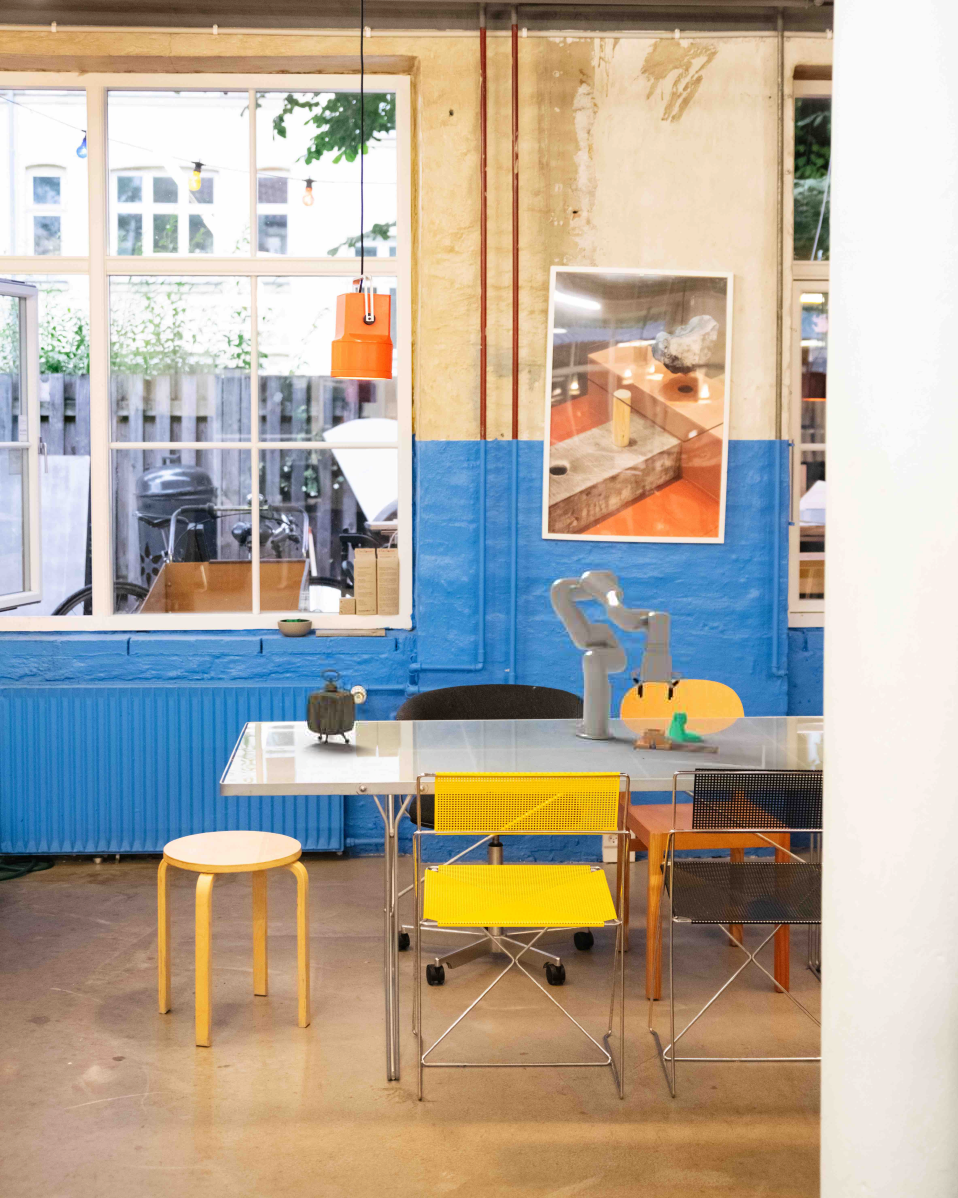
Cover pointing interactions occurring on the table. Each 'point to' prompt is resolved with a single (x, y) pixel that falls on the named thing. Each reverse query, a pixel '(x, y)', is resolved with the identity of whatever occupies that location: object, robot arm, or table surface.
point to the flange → (654, 739)
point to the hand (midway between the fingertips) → (655, 698)
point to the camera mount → (681, 728)
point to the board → (687, 748)
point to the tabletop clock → (331, 710)
